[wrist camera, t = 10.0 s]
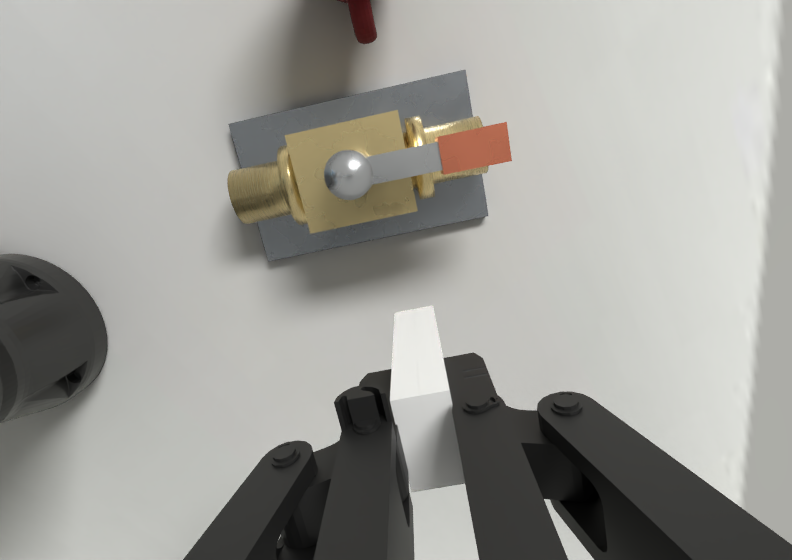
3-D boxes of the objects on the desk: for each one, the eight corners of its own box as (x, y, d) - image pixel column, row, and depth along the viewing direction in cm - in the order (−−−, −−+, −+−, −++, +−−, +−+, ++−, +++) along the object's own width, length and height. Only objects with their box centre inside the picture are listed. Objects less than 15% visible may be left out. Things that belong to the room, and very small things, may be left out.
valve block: (271, 258, 42) (241, 281, 34) (232, 124, 39) (190, 117, 31) (486, 214, 41) (505, 228, 33) (463, 71, 38) (479, 49, 30)
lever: (335, 201, 33) (330, 204, 30) (324, 155, 32) (318, 155, 29) (503, 166, 32) (512, 167, 29) (497, 118, 31) (505, 115, 28)
